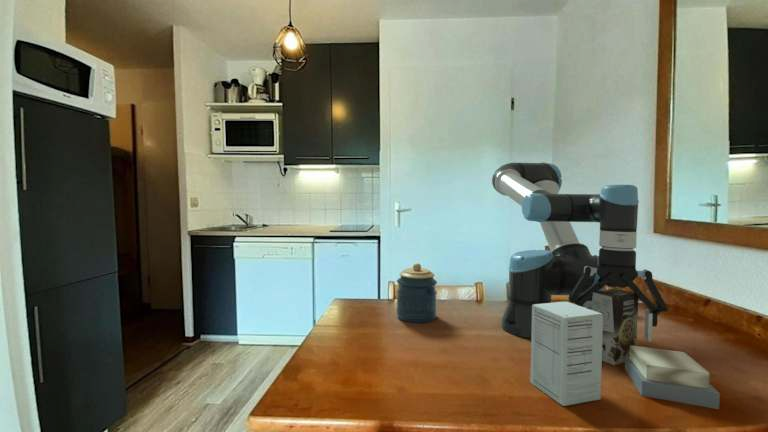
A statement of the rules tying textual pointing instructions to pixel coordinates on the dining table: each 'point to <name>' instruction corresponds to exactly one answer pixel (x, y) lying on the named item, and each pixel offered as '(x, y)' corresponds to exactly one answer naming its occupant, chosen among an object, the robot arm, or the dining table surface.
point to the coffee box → (617, 323)
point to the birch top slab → (669, 366)
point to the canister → (416, 295)
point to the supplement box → (566, 352)
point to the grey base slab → (672, 389)
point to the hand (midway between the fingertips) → (614, 335)
